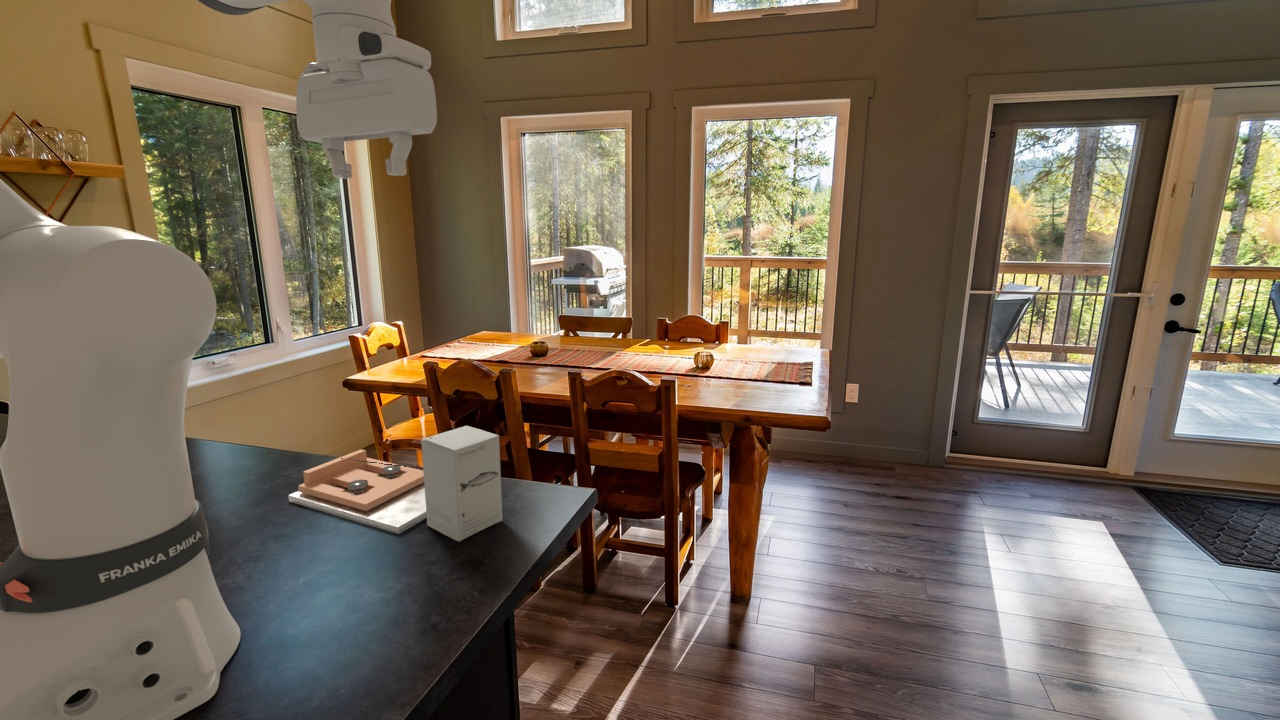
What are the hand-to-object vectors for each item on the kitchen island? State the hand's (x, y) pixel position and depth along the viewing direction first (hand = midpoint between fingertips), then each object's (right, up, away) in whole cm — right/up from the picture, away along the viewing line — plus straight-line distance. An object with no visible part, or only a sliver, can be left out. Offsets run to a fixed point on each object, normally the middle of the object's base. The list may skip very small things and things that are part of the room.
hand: (369, 176), depth 70 cm
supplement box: (+10, -45, +7) cm, 47 cm away
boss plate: (-5, -43, +15) cm, 46 cm away
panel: (-8, -42, +16) cm, 45 cm away
